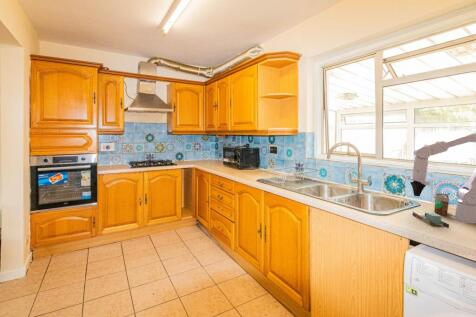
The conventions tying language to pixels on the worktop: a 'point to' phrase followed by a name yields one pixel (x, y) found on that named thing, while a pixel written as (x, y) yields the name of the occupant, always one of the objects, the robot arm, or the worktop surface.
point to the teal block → (434, 218)
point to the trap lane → (430, 221)
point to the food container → (441, 203)
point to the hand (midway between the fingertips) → (416, 196)
